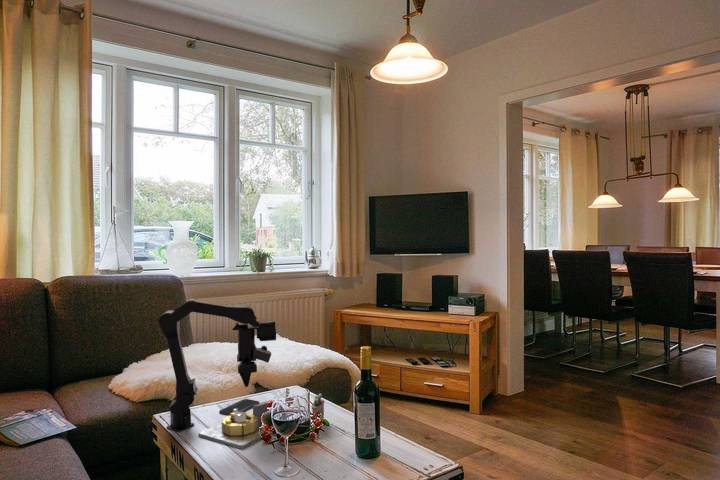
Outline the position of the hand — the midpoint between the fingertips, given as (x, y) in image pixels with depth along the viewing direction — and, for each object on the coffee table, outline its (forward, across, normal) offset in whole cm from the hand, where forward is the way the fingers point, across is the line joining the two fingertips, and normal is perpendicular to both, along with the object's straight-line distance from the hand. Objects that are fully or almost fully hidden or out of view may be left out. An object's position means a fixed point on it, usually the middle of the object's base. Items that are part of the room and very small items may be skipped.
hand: (246, 386), depth 170 cm
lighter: (+12, -11, -23) cm, 28 cm away
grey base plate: (+12, -10, +2) cm, 16 cm away
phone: (+13, +13, +2) cm, 19 cm away
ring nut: (+11, -8, -1) cm, 13 cm away
